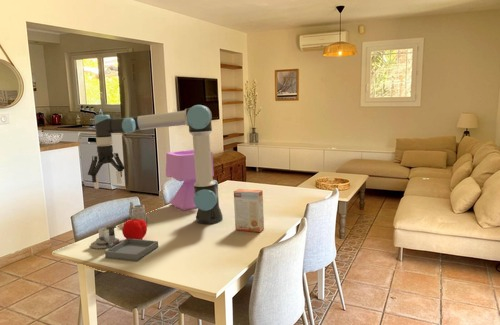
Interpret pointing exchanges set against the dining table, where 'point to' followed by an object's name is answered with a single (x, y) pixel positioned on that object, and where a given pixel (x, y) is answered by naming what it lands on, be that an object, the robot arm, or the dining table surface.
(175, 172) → the pink table lamp
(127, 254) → the tray
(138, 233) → the tomato
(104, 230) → the crank
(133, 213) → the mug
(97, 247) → the crank base
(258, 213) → the cracker box
